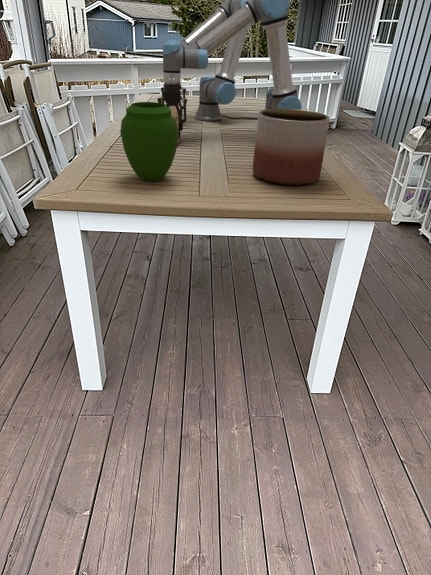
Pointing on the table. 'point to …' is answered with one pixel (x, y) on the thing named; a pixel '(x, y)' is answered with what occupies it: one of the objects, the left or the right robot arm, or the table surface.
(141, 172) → the vase
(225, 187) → the table surface
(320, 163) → the planter
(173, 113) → the beam
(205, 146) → the table surface
